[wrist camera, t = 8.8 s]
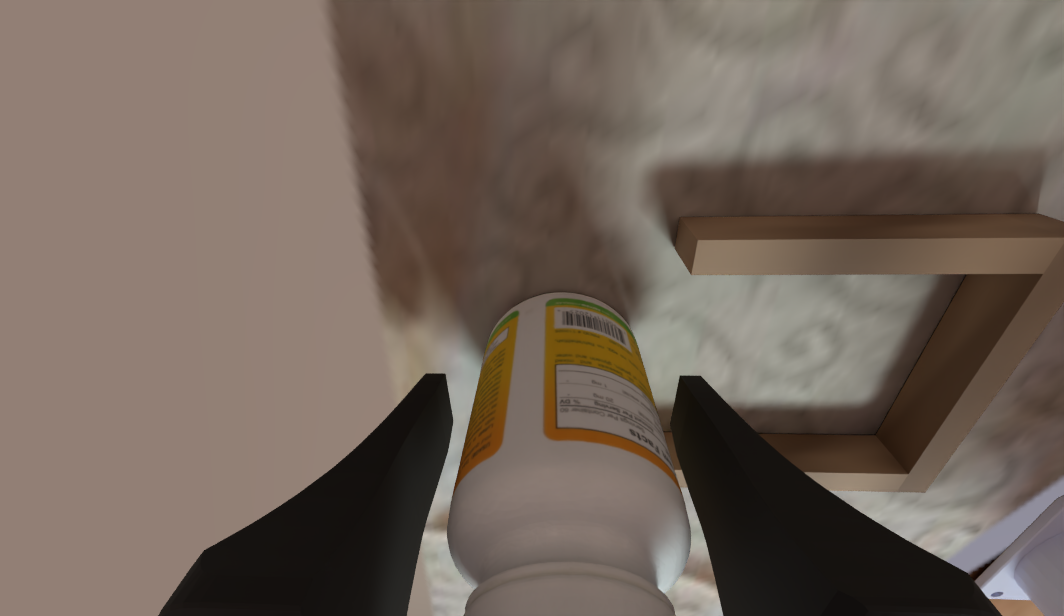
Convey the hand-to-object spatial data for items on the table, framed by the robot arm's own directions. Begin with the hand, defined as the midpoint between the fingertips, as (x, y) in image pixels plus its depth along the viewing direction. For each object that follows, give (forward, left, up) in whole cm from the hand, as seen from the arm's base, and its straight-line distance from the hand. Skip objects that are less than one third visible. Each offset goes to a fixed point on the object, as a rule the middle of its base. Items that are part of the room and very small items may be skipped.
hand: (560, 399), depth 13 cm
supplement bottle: (0, 0, -3) cm, 3 cm away
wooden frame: (-8, 0, -2) cm, 8 cm away
